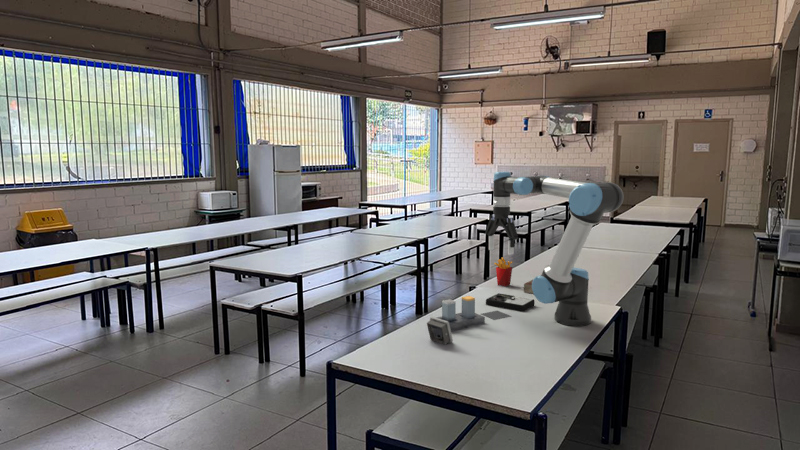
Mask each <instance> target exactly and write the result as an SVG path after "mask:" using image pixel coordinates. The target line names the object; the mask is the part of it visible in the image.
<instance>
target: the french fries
mask: <svg viewBox="0 0 800 450" xmlns="http://www.w3.org/2000/svg"><path fill="white" fill-rule="evenodd" d="M496 261H497V262H498V263H497V262H494V265H495V266H497V267H495V270H496V271H495V272H496V282H497V286H498V287H499V286H501V287H509V286H511V279H512V273H513V267H512V266H511V264H513V261H509V260H508V261H507V262H506V259H505V258H504V257H501V258H499V259H498V260H496ZM506 263H507V264H506Z"/></svg>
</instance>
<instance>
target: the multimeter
mask: <svg viewBox="0 0 800 450" xmlns="http://www.w3.org/2000/svg"><path fill="white" fill-rule="evenodd" d="M485 305H486V306H489V307H490V306H491V307H494V308H495V307H496V308H501V309H507V310H511V311H517V312H525V311H527V310H528V309H532V308H534V307H535V299H534V298H530V297H525V296H524V297H523V296H518V295H510V294H507V293H497V294H494V295H492V296H490V297H488V298H486V300H485Z"/></svg>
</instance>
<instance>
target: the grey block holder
mask: <svg viewBox="0 0 800 450" xmlns="http://www.w3.org/2000/svg"><path fill="white" fill-rule="evenodd" d="M441 302H442V303H441V305H442V306H441V316H438V317H435V318H438V319H442V320H445V321H448V322H449V325H450V329H451V332H453V331H457V330H461V329H467V328H469V327H473V326H478V325H482V324H485V321H486V320H485V319H486V316H483V315H481V314H478V313H477V312H475V317H472V318H464V317H462V312H459V313H457V312H456V309H457V308H456V306H457V305H456V301H455V300H453V299H444V300H442V301H441Z"/></svg>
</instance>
